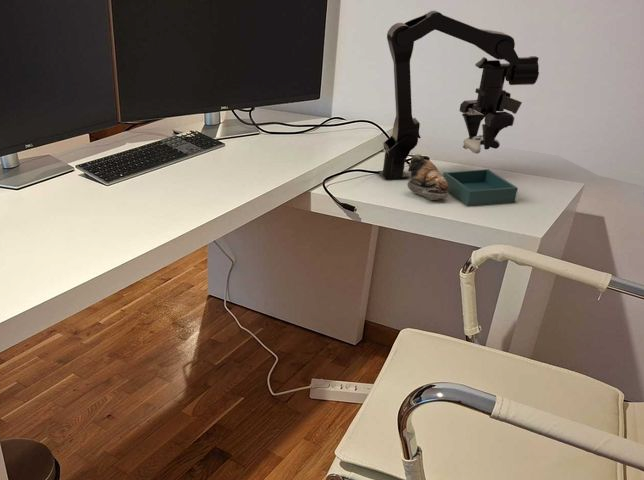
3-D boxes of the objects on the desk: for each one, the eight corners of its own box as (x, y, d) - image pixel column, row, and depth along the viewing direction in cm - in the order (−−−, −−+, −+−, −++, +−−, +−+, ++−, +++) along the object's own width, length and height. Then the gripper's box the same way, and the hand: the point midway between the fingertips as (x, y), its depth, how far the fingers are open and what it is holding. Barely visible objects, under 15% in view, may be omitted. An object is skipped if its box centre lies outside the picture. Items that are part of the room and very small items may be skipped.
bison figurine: (452, 199, 172) (459, 160, 167) (434, 205, 169) (441, 166, 164) (415, 187, 181) (420, 150, 175) (397, 193, 178) (402, 156, 172)
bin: (441, 186, 181) (443, 172, 179) (485, 182, 182) (488, 169, 179) (467, 206, 168) (470, 191, 166) (514, 202, 169) (518, 187, 167)
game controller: (479, 151, 178) (469, 132, 179) (464, 162, 183) (455, 143, 184) (502, 145, 182) (492, 126, 183) (488, 155, 187) (478, 137, 188)
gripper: (540, 90, 167) (525, 152, 176) (503, 76, 183) (491, 134, 191) (497, 93, 167) (485, 155, 175) (464, 79, 182) (453, 137, 191)
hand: (479, 145), depth 183 cm, fingers closed on game controller, 8 cm apart
